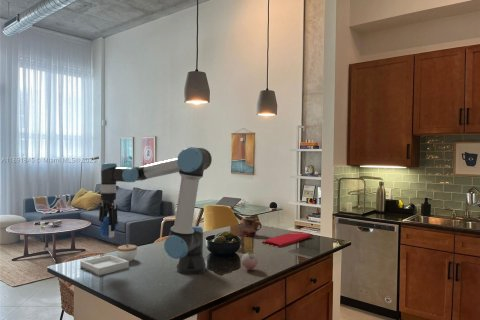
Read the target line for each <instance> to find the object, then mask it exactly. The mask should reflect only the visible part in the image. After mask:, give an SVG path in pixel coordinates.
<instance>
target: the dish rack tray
mask: <svg viewBox="0 0 480 320" xmlns="http://www.w3.org/2000/svg"><path fill="white" fill-rule="evenodd" d="M79 266H80V267H81V268H80V269H82V268H83V270H84V271H87V272H90V273H91V274H94V275H96V276H103V275H106V274H109V273H113V272H118V271H121V270H125V269H129V268H130V267H129V266H130V263H129V261H127V260H124V259H121V258H119V257H118V256H115V255H113V254H107V255H103V256H99V257H93V258H89V259H85V260H80V265H79Z"/></svg>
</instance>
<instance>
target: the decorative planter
mask: <svg viewBox="0 0 480 320" xmlns="http://www.w3.org/2000/svg"><path fill="white" fill-rule="evenodd" d="M239 225H240V227H241V230H242V232H241V233H242V234H241V235H242V236H243V235H246V236H245V237H247V236H251V237H254V236H253V235H255V236H256V234H257V232H258V231H260V230H261V229H262V223H261V221H260V220H259V221H258V218H257V217H255V216H243V217H242V218H241V220H240V224H239Z"/></svg>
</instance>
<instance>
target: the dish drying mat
mask: <svg viewBox="0 0 480 320" xmlns="http://www.w3.org/2000/svg"><path fill="white" fill-rule="evenodd" d="M311 237H312V234H311V233H309V232H304V231H303V232H302V231H293V232H288V233H285V234H281V235H277V236H275V237H271V238H267V239H265V240H264V241H261V244H262V243H265V244H264V245H266V244H269V245H268V246H271V245H273V246H272V247H275V246H278V247H277V248H282V247H285V245H286V246H288V245H292V244H295V243H297V242H301V241H304V240H306V239H309V238H311ZM281 246H282V247H281Z"/></svg>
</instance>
